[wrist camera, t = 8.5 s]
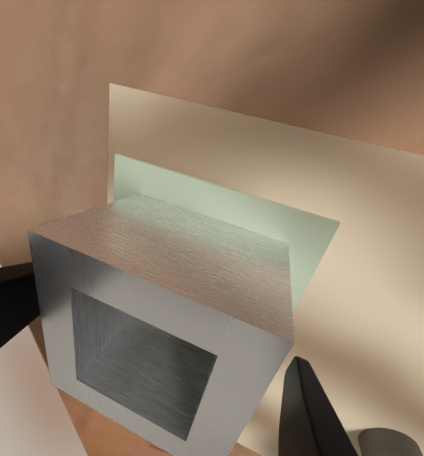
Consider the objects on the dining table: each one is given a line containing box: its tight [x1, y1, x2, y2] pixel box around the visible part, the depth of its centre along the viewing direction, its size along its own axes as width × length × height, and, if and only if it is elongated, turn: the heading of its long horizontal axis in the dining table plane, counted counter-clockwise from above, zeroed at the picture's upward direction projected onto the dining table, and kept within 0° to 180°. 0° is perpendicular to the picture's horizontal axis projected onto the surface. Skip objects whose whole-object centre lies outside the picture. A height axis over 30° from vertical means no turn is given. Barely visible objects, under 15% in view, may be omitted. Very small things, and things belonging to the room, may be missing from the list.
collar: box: [28, 193, 294, 456], centre depth 8 cm, size 6×6×4 cm
